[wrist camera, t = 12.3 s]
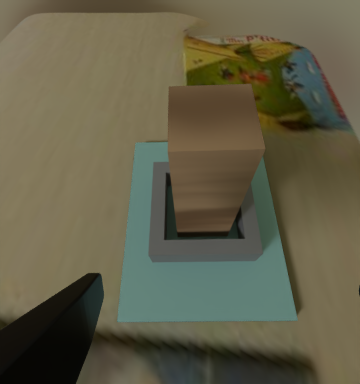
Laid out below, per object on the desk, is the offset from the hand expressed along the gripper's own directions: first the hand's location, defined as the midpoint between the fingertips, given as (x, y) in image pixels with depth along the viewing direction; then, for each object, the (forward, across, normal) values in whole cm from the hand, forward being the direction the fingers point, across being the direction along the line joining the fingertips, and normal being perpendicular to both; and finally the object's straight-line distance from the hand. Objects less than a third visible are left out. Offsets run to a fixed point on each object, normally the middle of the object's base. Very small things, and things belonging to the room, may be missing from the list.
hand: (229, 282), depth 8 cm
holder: (+15, 0, +4) cm, 16 cm away
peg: (+14, 0, +3) cm, 15 cm away
